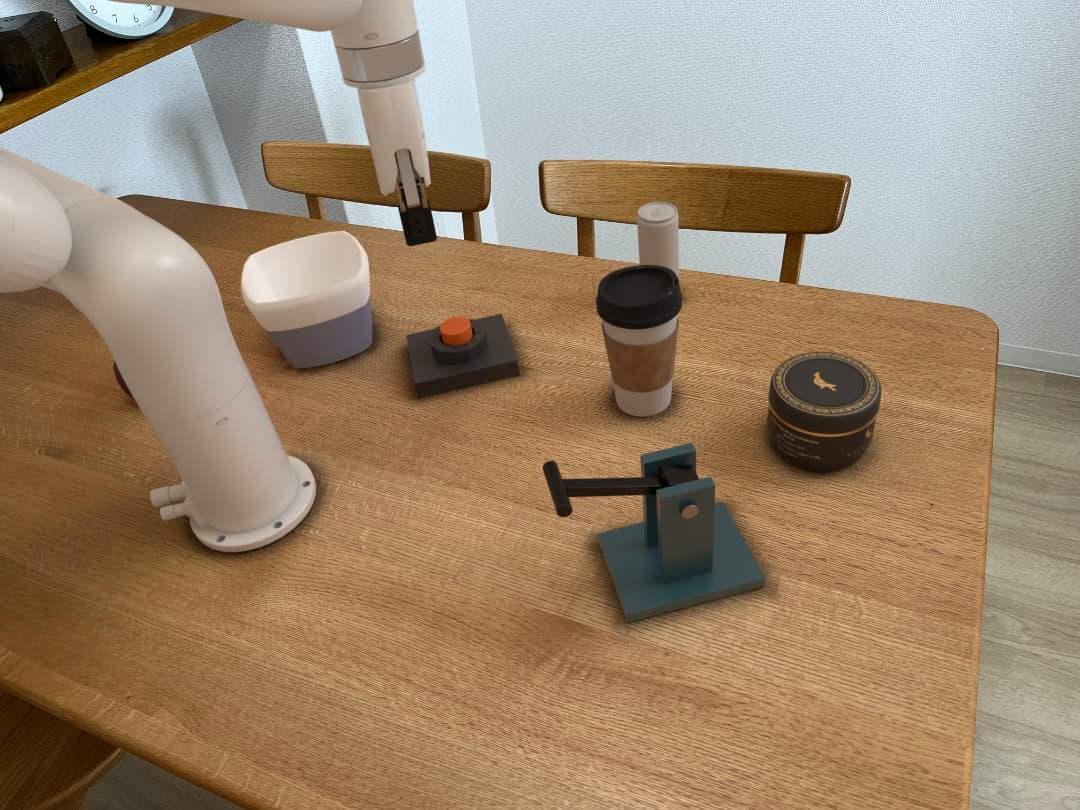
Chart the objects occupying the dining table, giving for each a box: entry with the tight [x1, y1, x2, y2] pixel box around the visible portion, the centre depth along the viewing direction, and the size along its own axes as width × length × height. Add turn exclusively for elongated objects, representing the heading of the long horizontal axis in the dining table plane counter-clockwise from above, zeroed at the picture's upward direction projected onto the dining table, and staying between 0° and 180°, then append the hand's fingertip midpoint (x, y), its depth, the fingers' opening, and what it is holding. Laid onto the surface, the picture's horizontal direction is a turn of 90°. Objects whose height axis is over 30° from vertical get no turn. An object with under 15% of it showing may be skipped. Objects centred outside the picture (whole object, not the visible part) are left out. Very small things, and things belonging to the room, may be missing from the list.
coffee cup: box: [595, 264, 683, 418], centre depth 83 cm, size 8×8×15 cm
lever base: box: [597, 442, 766, 624], centre depth 67 cm, size 12×9×12 cm
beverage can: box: [636, 201, 680, 280], centre depth 98 cm, size 5×5×12 cm
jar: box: [766, 351, 882, 472], centre depth 77 cm, size 10×10×8 cm
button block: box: [406, 313, 521, 399], centre depth 95 cm, size 12×10×4 cm
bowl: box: [240, 230, 374, 369], centre depth 100 cm, size 15×15×11 cm
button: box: [439, 316, 473, 346], centre depth 94 cm, size 4×4×2 cm
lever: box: [541, 460, 700, 518], centre depth 63 cm, size 12×5×2 cm, turn 103°
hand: (421, 240), depth 84 cm, fingers closed
